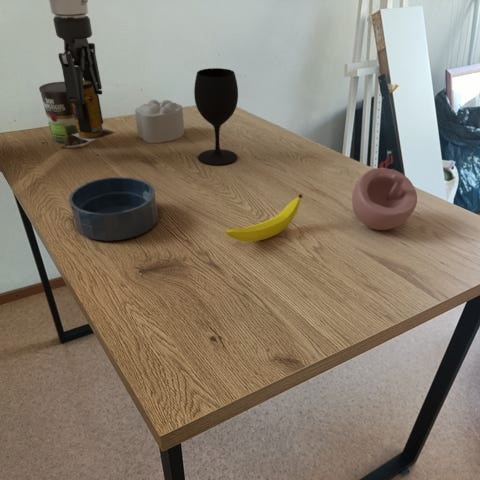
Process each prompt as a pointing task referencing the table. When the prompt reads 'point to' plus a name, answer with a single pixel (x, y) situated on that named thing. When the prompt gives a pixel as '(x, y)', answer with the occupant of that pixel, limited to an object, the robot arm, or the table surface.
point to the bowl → (114, 208)
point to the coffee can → (60, 115)
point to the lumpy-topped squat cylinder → (159, 121)
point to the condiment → (91, 115)
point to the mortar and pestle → (383, 199)
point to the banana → (267, 225)
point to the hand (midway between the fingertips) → (92, 127)
